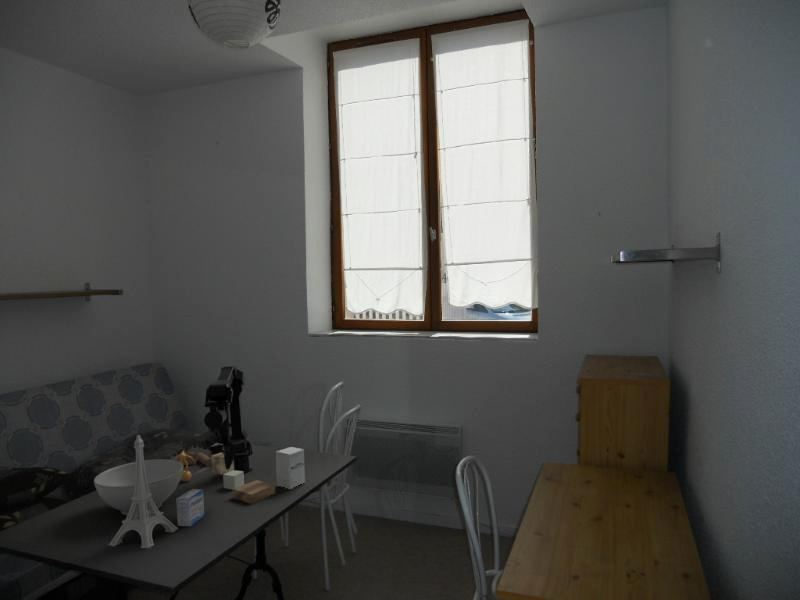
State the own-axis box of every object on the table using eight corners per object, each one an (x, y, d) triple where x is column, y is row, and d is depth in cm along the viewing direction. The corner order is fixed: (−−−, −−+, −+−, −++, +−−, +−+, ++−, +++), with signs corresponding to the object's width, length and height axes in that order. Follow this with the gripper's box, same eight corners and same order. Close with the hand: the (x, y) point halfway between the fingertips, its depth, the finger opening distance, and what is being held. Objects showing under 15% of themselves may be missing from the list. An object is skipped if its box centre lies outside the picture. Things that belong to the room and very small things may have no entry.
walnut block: (233, 498, 194) (232, 488, 193) (256, 489, 201) (256, 479, 201) (251, 505, 187) (251, 494, 187) (275, 495, 195) (274, 485, 195)
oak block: (212, 471, 189) (211, 455, 189) (224, 467, 193) (224, 451, 193) (221, 474, 186) (220, 457, 186) (234, 470, 190) (233, 453, 190)
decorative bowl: (201, 495, 197) (199, 461, 196) (147, 528, 171) (145, 489, 171) (136, 490, 204) (135, 457, 204) (76, 522, 178) (73, 484, 178)
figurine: (198, 478, 215) (197, 447, 214) (194, 484, 209) (193, 451, 208) (175, 480, 214) (174, 448, 213) (171, 486, 208) (169, 453, 207)
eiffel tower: (108, 546, 161) (101, 441, 160) (140, 526, 174) (134, 429, 173) (148, 549, 157) (142, 442, 156) (178, 529, 170) (172, 430, 169)
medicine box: (190, 527, 171) (189, 498, 171) (177, 526, 172) (175, 498, 172) (204, 516, 179) (203, 489, 178) (191, 515, 180) (190, 488, 179)
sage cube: (223, 488, 203) (223, 474, 203) (233, 483, 208) (232, 470, 208) (235, 489, 201) (234, 475, 201) (244, 485, 206) (243, 471, 206)
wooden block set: (218, 443, 243) (234, 452, 229) (218, 456, 243) (235, 466, 229) (177, 451, 233) (192, 461, 218) (178, 465, 233) (192, 476, 219)
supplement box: (290, 490, 198) (288, 454, 198) (276, 486, 203) (274, 451, 203) (306, 483, 204) (304, 449, 204) (292, 480, 209) (290, 446, 208)
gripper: (182, 423, 188) (185, 470, 189) (216, 430, 177) (218, 480, 177) (212, 416, 197) (214, 460, 197) (245, 422, 186) (248, 469, 186)
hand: (223, 467), depth 189 cm, fingers closed on oak block, 5 cm apart
